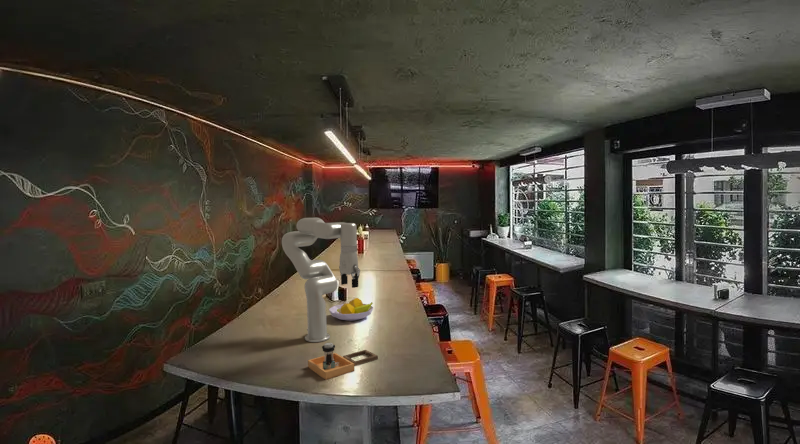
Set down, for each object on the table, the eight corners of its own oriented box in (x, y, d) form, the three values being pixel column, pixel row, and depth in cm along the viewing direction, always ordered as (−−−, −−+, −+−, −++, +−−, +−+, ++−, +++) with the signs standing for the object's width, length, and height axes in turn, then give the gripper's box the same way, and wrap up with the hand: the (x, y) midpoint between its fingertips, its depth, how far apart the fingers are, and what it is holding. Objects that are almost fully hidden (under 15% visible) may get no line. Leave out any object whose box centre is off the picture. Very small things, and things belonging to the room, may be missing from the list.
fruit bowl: (321, 318, 238) (320, 299, 238) (357, 309, 256) (357, 292, 256) (346, 328, 217) (346, 308, 217) (384, 318, 235) (384, 299, 235)
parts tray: (308, 367, 164) (307, 360, 164) (335, 359, 172) (335, 352, 172) (325, 380, 152) (325, 372, 152) (354, 371, 160) (354, 363, 160)
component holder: (342, 359, 172) (342, 356, 172) (365, 352, 180) (365, 349, 180) (354, 366, 165) (354, 362, 164) (377, 359, 172) (377, 355, 172)
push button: (337, 364, 166) (336, 340, 166) (339, 368, 161) (339, 344, 161) (321, 366, 164) (321, 342, 163) (323, 371, 159) (323, 347, 158)
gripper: (332, 248, 187) (333, 284, 188) (351, 251, 173) (352, 289, 174) (346, 247, 192) (347, 282, 192) (365, 250, 178) (366, 287, 179)
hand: (349, 285), depth 183 cm, fingers open, 9 cm apart
